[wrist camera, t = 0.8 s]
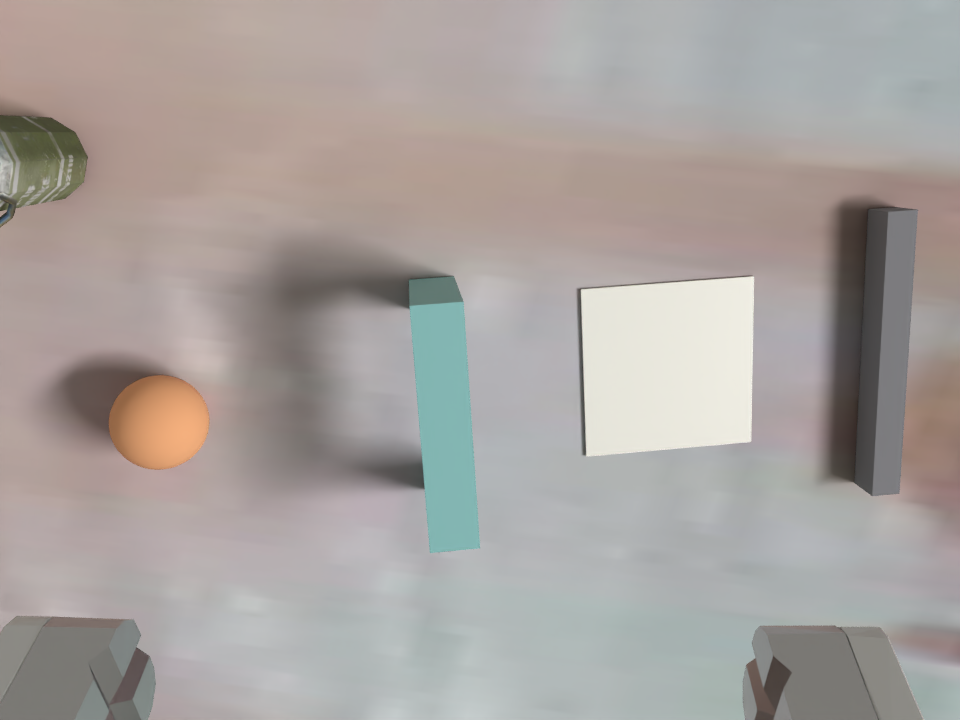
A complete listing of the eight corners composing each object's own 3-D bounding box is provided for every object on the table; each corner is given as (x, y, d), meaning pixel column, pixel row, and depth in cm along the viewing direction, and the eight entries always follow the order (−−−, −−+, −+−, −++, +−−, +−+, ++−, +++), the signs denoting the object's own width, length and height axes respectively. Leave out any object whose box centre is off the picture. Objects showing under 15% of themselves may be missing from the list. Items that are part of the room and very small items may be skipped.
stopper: (880, 480, 63) (899, 493, 61) (854, 482, 63) (872, 496, 60) (896, 207, 58) (917, 209, 56) (868, 209, 58) (888, 211, 56)
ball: (223, 446, 58) (203, 479, 52) (133, 454, 58) (103, 488, 52) (211, 361, 57) (189, 385, 51) (119, 368, 56) (86, 394, 50)
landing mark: (749, 440, 61) (751, 441, 61) (585, 455, 61) (586, 456, 60) (752, 276, 58) (754, 276, 58) (580, 289, 58) (581, 289, 57)
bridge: (453, 276, 57) (463, 301, 47) (468, 486, 60) (480, 548, 51) (408, 279, 56) (409, 305, 47) (426, 489, 60) (430, 553, 51)
